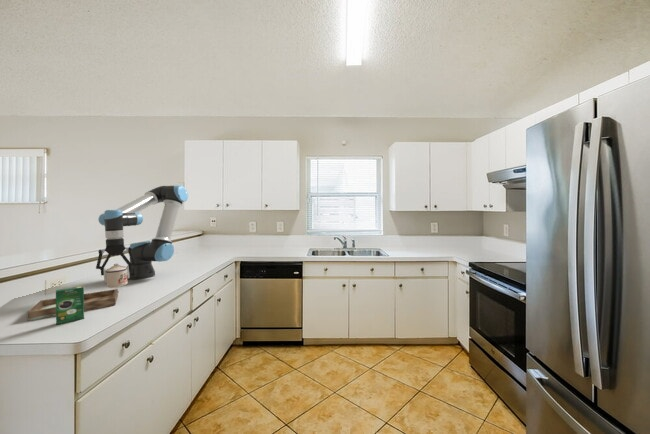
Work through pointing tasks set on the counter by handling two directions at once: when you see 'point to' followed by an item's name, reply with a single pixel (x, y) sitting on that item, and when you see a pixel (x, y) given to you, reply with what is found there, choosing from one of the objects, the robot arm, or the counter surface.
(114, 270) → the teacup with lid
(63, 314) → the coffee box
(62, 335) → the counter surface
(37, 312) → the wooden tray
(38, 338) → the counter surface
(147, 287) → the counter surface
